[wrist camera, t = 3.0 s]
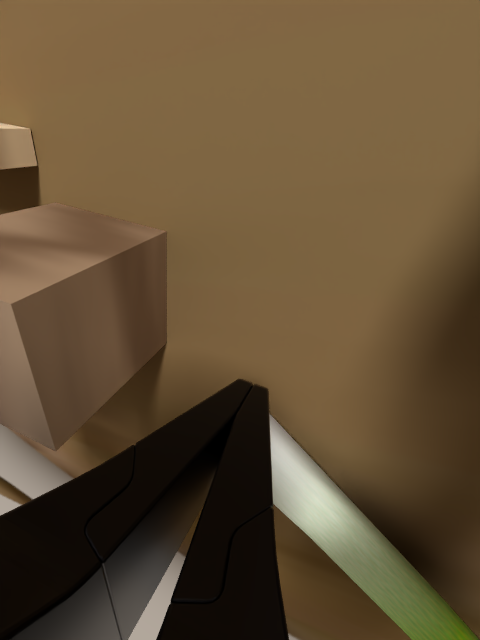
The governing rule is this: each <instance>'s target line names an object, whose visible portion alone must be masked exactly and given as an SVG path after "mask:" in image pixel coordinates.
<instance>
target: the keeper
mask: <svg viewBox="0 0 480 640" xmlns="http://www.w3.org/2000/svg"><path fill="white" fill-rule="evenodd" d="M166 343H167V231H163V230H159V229H155V228H152V227H148V226H144V225H140V224H136V223H132V222H129V221H125V220H121V219H117V218H113V217H109V216H106V215H102V214H98V213H94V212H90V211H86V210H82V209H79V208H75V207H71V206H67V205H63V204H59V203H56V202H55V203H51V204H46V205H42V206H37V207H33V208H28V209H24V210H19V211H15V212H10V213H6V214H1V215H0V424H2V425H4V426H6V427H8V428H10V429H12V430H14V431H16V432H18V433H20V434H22V435H24V436H26V437H28V438H30V439H32V440H34V441H36V442H38V443H40V444H42V445H44V446H46V447H48V448H50V449H52V450H54V451H57V450H58V449H59V448H60V447H61V446H62V445H63V444H64V443H65V442H66V441H67V440H68V439H69V438H70V437H71V436H72V435H73V434H74V433H75V432H76V431H77V430H78V429H79V428H80V427H81V426H82V425H83V424H84V423H85V422H86V421H87V420H88V419H89V418H91V417H92V416H93V415H94V414H95V413H96V412H97V411H98V410H99V409H100V408H101V407H102V406H103V405H104V404H105V403H106V402H107V401H108V400H109V399H110V398H111V397H112V396H113V395H114V394H115V393H116V392H117V391H118V390H119V389H120V388H121V387H122V386H123V385H124V384H125V383H126V382H127V381H128V380H129V379H130V378H131V377H132V376H133V375H134V374H135V373H136V372H137V371H138V370H139V369H141V368H142V367H143V366H144V365H145V364H146V363H147V362H148V361H149V360H150V359H151V358H152V357H153V356H154V355H155V354H156V353H157V352H158V351H159V350H160V349H161V348H162V347H163V346H164V345H165V344H166Z"/></svg>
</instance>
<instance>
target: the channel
mask: <svg viewBox="0 0 480 640" xmlns="http://www.w3.org/2000/svg"><path fill="white" fill-rule="evenodd" d="M29 166H37V161H36V156H35V151H34V146H33V141H32V136H31V131H30V129H29V128H24V127H19V126H14V125H8V124H3V123H0V169H10V168H20V167H29Z"/></svg>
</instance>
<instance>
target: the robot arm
mask: <svg viewBox="0 0 480 640" xmlns="http://www.w3.org/2000/svg"><path fill="white" fill-rule="evenodd" d="M205 500H206V501H205ZM204 502H205V503H204ZM203 504H204V506H203ZM202 506H203V509H202V512H201V515H200V518H199V521H198V524H197V526H196V529H195V532H194V535H193V538H192V541H191V544H190V546H189V549H188V552H187V555H186V558H185V561H184V564H183V567H182V570H181V573H180V575H179V578H178V581H177V584H176V587H175V589H174V592H173V595H172V598H171V604H170V605H169V607H168V610H167V612H166V615H165V618H164V621H163V624H162V626H161V629H160V631H159V634H158V637H157V639H156V640H289V637H288V630H287V624H286V618H285V612H284V605H283V599H282V593H281V586H280V579H279V571H278V563H277V555H276V543H275V529H274V510H273V487H272V463H271V439H270V415H269V391H268V389H267V388H265V387H262V386H260V385H257V384H254V385H253V384H252V383H251V382H249V381H246V380H243V379H238V380H236V381H234V382H233V383H231V384H230V385H228V386H226V387H225V388H223V389H222V390H220V391H218V392H217V393H215V394H214V395H212V396H210V397H209V398H207V399H206V400H204V401H203V402H201V403H199V404H198V405H196V406H195V407H193V408H191V409H190V410H188V411H187V412H185V413H183V414H182V415H180V416H179V417H177V418H175V419H174V420H172V421H171V422H169V423H167V424H166V425H164V426H163V427H161V428H159V429H158V430H156V431H155V432H153V433H152V434H150V435H148V436H147V437H145V438H144V439H142V440H140V441H139V442H137V443H136V444H135V446H134V445H132V446H131V447H129V448H127V449H126V450H124V451H123V452H121V453H119V454H118V455H116V456H114V457H113V458H111V459H109V460H108V461H106V462H104V463H103V464H101V465H99V466H97V467H96V468H94V469H92V470H90V471H88V472H86V473H84V474H82V475H80V476H79V477H77V478H75V479H73V480H71V481H69V482H67V483H65V484H63V485H61V486H59V487H57V488H55V489H53V490H51V491H49V492H47V493H45V494H43V495H41V496H39V497H37V498H35V499H33V500H31V501H29V502H27V503H25V504H23V505H21V506H19V507H17V508H15V509H13V510H11V511H9V512H8V513H5V514H3V515H1V516H0V640H128V638H129V637H130V635H131V633H132V631H133V629H134V627H135V626H136V624H137V622H138V620H139V619H140V617H141V615H142V613H143V611H144V610H145V608H146V606H147V604H148V602H149V601H150V599H151V597H152V595H153V594H154V592H155V590H156V588H157V586H158V585H159V583H160V581H161V579H162V577H163V576H164V574H165V572H166V570H167V568H168V567H169V565H170V563H171V561H172V559H173V558H174V556H175V554H176V552H177V551H178V549H179V547H180V545H181V543H182V542H183V540H184V538H185V536H186V534H187V533H188V531H189V529H190V527H191V525H192V524H193V522H194V520H195V518H196V516H197V515H198V513H199V511H200V509H201V508H202Z"/></svg>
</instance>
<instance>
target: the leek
mask: <svg viewBox="0 0 480 640" xmlns="http://www.w3.org/2000/svg"><path fill="white" fill-rule="evenodd" d="M269 415H270V414H269ZM270 439H271V463H272V487H273V504H274V505H275V506H276V507H278V508H279V509H280V510H281V511H282V512H283V513H284V514H285V515H286V516H287V517H288V518H290V519H291V520H292V521H293V522H294V523H295V524H296V525H297V526H298V527H299V528H300V529H302V530H303V531H304V532H305V533H306V534H307V535H308V536H309V537H310V538H311V539H312V540H313V541H314V542H315V543H316V544H317V545H318V546H319V547H320V548H321V549H322V550H323V551H324V552H325V553H326V554H327V555H328V556H329V557H330V558H331V559H332V560H333V561H334V562H335V563H336V564H337V565H338V566H339V567H340V568H341V569H342V570H343V571H344V572H345V573H346V574H347V575H348V576H349V577H350V578H351V579H352V580H353V581H354V582H355V583H356V584H357V585H358V586H359V587H360V588H361V589H362V590H363V591H364V592H365V593H366V594H367V595H368V596H369V597H370V598H371V599H372V600H373V601H374V602H375V603H376V604H377V605H378V606H379V607H380V608H381V609H382V610H383V611H384V612H385V613H386V614H387V615H388V616H389V617H390V618H391V619H392V620H393V621H394V622H395V623H396V624H397V625H398V626H399V627H400V628H401V629H402V630H403V631H404V632H405V633H406V634H407V635H408V636H409V637H410V638H411V639H412V640H479V639H478V638H477V636H476V635H475V634H474V633H473V632H472V631H471V630H470V629H469V627H468V626H467V625H466V624H465V623H464V622H463V621H462V619H461V618H460V617H459V616H458V615H457V614H456V613H455V612H454V610H453V609H452V608H451V607H450V606H449V605H448V604H447V602H446V601H445V600H444V599H443V598H442V597H441V596H440V595H439V594H438V593H437V592H436V591H435V590H434V589H433V587H432V586H431V585H430V584H429V583H428V582H427V581H426V580H425V579H424V578H423V577H422V576H421V575H420V574H419V573H418V571H417V570H416V569H415V568H414V567H413V566H412V565H411V564H410V563H409V562H408V561H407V560H406V559H405V558H404V557H403V556H402V554H401V553H400V552H399V551H398V550H397V549H396V548H395V547H394V546H393V545H392V544H391V543H390V542H389V541H388V540H387V538H386V537H385V536H384V535H383V534H382V533H381V532H380V531H379V530H378V529H377V528H376V527H375V526H374V525H373V524H372V523H371V521H370V520H369V519H368V518H367V517H366V516H365V515H364V514H363V513H362V512H361V511H360V510H359V509H358V508H357V507H356V505H355V504H354V503H353V502H352V501H351V500H350V499H349V498H348V497H347V496H346V495H345V494H344V493H343V492H342V491H341V489H340V488H339V487H338V486H337V485H336V484H335V483H334V482H333V481H332V480H331V479H330V478H329V477H328V476H327V475H326V473H325V472H324V471H323V470H322V469H321V468H320V467H319V466H318V465H317V464H316V463H315V462H314V461H313V460H312V459H311V457H310V456H309V455H308V454H307V453H306V452H305V451H304V450H303V449H302V448H301V447H300V446H299V445H298V444H297V443H296V441H295V440H294V439H293V438H292V437H291V436H290V435H289V434H288V433H287V432H286V431H285V430H284V429H283V428H282V427H281V425H280V424H279V423H278V422H277V421H276V420H275V419H274V418H273V417H272V416H271V415H270Z"/></svg>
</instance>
